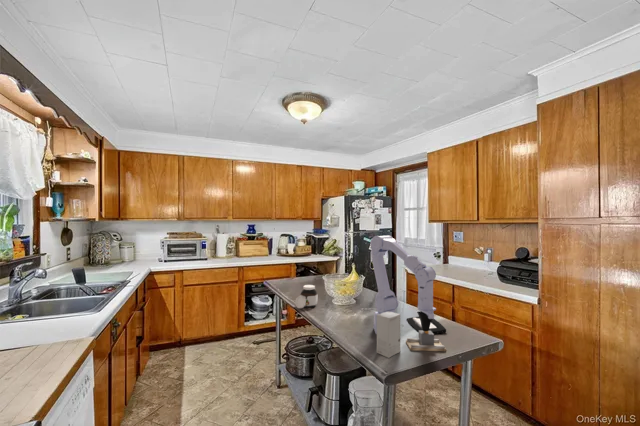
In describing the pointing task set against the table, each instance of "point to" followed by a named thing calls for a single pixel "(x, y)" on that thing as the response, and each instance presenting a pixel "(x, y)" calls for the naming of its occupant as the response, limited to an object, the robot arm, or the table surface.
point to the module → (426, 337)
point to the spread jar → (307, 297)
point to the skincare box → (388, 334)
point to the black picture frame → (434, 327)
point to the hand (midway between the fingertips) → (425, 330)
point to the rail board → (415, 345)
